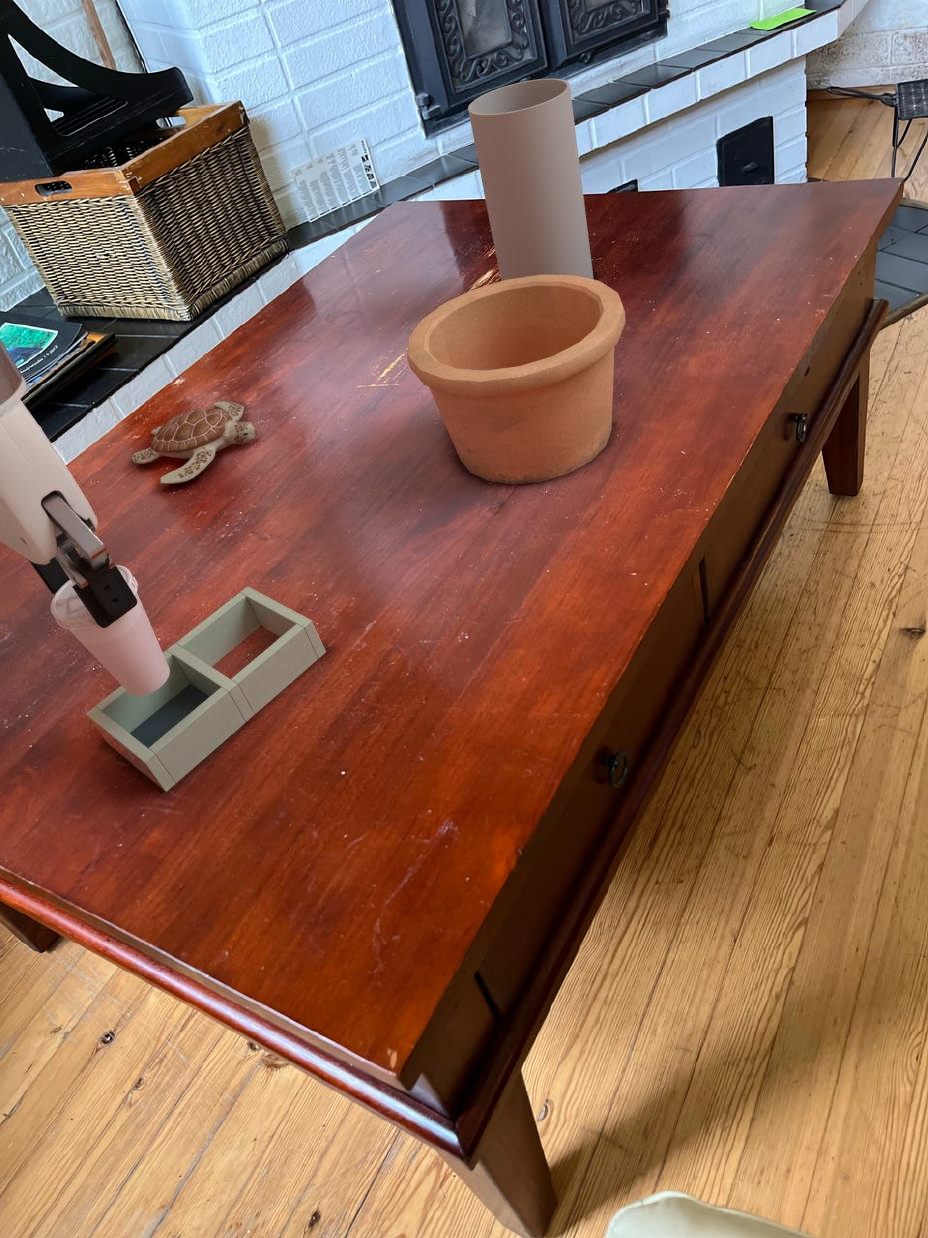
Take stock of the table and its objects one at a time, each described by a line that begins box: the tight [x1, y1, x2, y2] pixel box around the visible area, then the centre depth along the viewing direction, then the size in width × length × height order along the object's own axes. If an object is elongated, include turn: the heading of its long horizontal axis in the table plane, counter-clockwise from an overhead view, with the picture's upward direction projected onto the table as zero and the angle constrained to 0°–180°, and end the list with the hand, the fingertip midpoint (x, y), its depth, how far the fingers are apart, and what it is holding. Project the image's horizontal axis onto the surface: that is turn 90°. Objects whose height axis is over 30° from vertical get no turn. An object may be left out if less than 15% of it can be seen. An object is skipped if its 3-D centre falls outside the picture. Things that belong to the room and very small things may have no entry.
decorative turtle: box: [131, 401, 258, 485], centre depth 114 cm, size 18×17×5 cm
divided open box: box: [85, 586, 327, 793], centre depth 79 cm, size 18×10×5 cm, turn 138°
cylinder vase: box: [467, 78, 594, 281], centre depth 119 cm, size 12×12×25 cm
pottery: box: [406, 275, 627, 485], centre depth 95 cm, size 22×22×14 cm
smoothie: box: [50, 564, 170, 696], centre depth 70 cm, size 6×6×14 cm
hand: (94, 597), depth 68 cm, fingers closed on smoothie, 6 cm apart
